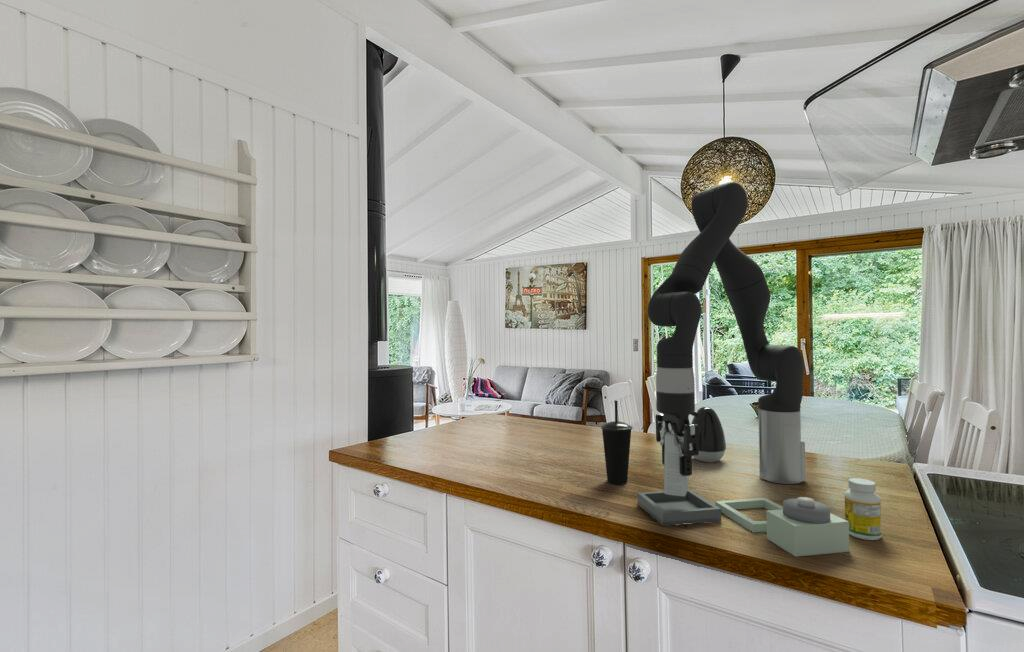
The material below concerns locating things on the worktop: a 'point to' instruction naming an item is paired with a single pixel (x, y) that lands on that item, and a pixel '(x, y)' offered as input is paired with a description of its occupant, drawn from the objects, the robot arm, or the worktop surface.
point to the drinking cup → (616, 449)
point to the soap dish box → (794, 524)
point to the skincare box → (673, 469)
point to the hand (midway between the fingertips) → (676, 469)
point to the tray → (679, 508)
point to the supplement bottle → (863, 509)
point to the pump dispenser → (709, 435)
